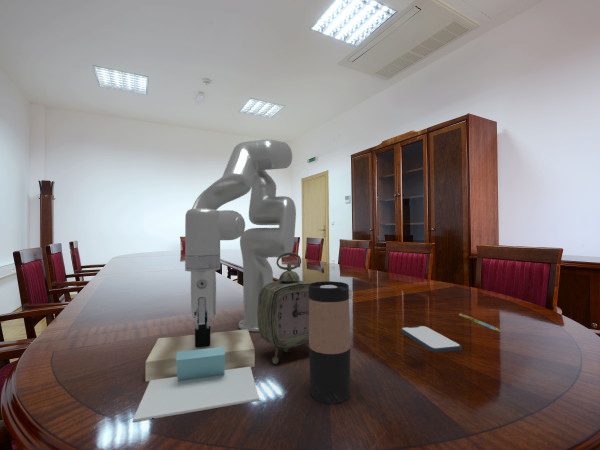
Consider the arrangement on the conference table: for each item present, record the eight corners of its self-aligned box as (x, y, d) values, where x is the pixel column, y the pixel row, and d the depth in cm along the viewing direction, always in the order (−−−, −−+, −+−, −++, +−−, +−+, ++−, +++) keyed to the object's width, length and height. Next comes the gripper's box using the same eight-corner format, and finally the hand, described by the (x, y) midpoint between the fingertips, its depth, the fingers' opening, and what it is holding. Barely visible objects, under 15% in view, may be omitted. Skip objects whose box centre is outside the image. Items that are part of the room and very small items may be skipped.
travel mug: (307, 383, 57) (306, 281, 58) (345, 381, 58) (343, 280, 59) (312, 406, 50) (310, 288, 50) (356, 403, 50) (354, 287, 51)
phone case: (464, 352, 73) (425, 330, 89) (464, 346, 73) (425, 325, 89) (432, 355, 71) (398, 332, 87) (432, 349, 71) (398, 327, 87)
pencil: (504, 333, 85) (462, 316, 103) (504, 330, 85) (462, 313, 103) (500, 334, 85) (458, 316, 103) (500, 330, 85) (458, 313, 103)
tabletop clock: (271, 369, 64) (270, 254, 64) (254, 355, 71) (253, 252, 72) (324, 354, 71) (322, 252, 72) (304, 342, 79) (303, 250, 80)
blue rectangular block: (224, 346, 60) (224, 354, 58) (224, 366, 62) (224, 374, 61) (177, 351, 57) (176, 360, 56) (179, 372, 60) (178, 381, 58)
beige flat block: (247, 344, 78) (247, 329, 78) (254, 366, 65) (254, 348, 65) (158, 354, 72) (158, 338, 72) (145, 381, 59) (145, 361, 59)
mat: (250, 368, 64) (250, 366, 64) (258, 400, 52) (258, 398, 52) (150, 382, 59) (150, 380, 59) (132, 422, 46) (132, 419, 46)
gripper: (220, 265, 59) (220, 357, 59) (219, 260, 74) (219, 333, 73) (181, 267, 57) (180, 361, 57) (188, 261, 72) (188, 336, 71)
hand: (202, 345), depth 65 cm, fingers closed
